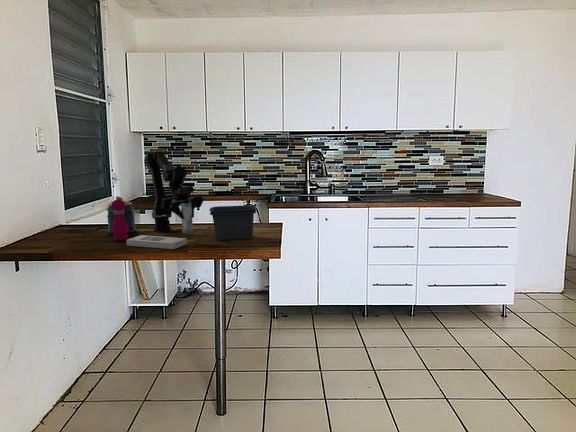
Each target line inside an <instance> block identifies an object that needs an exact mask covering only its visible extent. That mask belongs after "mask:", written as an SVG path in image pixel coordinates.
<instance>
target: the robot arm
mask: <svg viewBox="0 0 576 432" xmlns="http://www.w3.org/2000/svg"><path fill="white" fill-rule="evenodd" d="M165 153H166V152H165V151H163V150H155V151H153V152H151V153H148V154H146V155H145V156H144V163H145V165H146V168H147V169H148V170H149V171H150V173H151V180H152V184H153V190H154V196H155V197H154V198H155V201H154V202H153V203H154V204H153V209H152V212H151V218H152V219H153V220H154V224H155V225H154V227H155V228H153V231H159V232H161V231H162V232H165V231H168V230H171V229H172V227H171V222H170V218H172V214H175V215H176V216H178V217H179V218H180V219H181V220H182V219H183V215H182V212H181V203H191V204H192V219H194V218H195V209H196V208H200V207H202V205H203V203H204V200H205V199H204V197H203V196H202V195H195V196H193V197H192V199H189V198H190V194H193V193H194V191H195V189H194V186H193V184H189V185H185V186H183V184H184V183H185V180H186V178H187V175H188V170H186V169H185V168H184V167H181V165H172V163H170V161H169V159H168V158H167V157H166V154H165ZM163 180H164V182H168V190H170V192H171V197H169V198H167V197H166V194H165V187H164V183H163Z"/></svg>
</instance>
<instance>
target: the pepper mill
mask: <svg viewBox="0 0 576 432" xmlns="http://www.w3.org/2000/svg"><path fill="white" fill-rule="evenodd" d="M120 197H121V196H118V195H117V196H115V199H114V200H113V202H112V201H111V202H112V204H111V206H112V208H113V209H114V210H113V213H114V223H113V226H112V232H113V233H114V234H113V240H115V241H123V240H127V239H129V235H128V234H129V233H127V232H128V226H127V224H126V222H125V219H124V213H125V212H124V210H123V209H124V208H125V202H124V201H123V200H124V199H123V200H119V199H120Z"/></svg>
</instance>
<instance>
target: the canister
mask: <svg viewBox="0 0 576 432" xmlns="http://www.w3.org/2000/svg"><path fill="white" fill-rule="evenodd" d="M119 197H120V199H119V200H123V201H124V202H125V208H124V209H123V210H124V212H125V213H124V219H125V222H126V224H127V226H128V232H127V233H126V234H130V233H133V232H134V233H135V231H136V223H135V222H136V221H135V213H134V209H135V207H134V206H132V205H133V202H131V201H130V200H126V199H125V200H124V199H123V197H121V196H119ZM113 201H114V200H113ZM113 201H110V202H109V203H108V204H107V206H108V207H107V208H106V211H107V216H106V217H107V226H108V227H107V231H108V233H109V234H113V235H115V234H114V233H113V232H112V226H113V223H114V213H113V210H114V209H113V208H112V206H111V204H112V202H113Z"/></svg>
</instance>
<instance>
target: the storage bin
mask: <svg viewBox="0 0 576 432" xmlns="http://www.w3.org/2000/svg"><path fill="white" fill-rule="evenodd" d="M208 211H210V213H209V215H210V216H212V220H213V226H214V227H213V228H214V233H215V234H214V236H215V240H216V241H224V240H225V241H227V240H228V241H229V240H230V241H231V240H251V239H253V237H254V236H253V235H254V219H255V217H254V216H255V214H256V212H257V205H255V204H254V205H245V204H244V205H223V206H222V205H221V206H212V207H209V209H208Z"/></svg>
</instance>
